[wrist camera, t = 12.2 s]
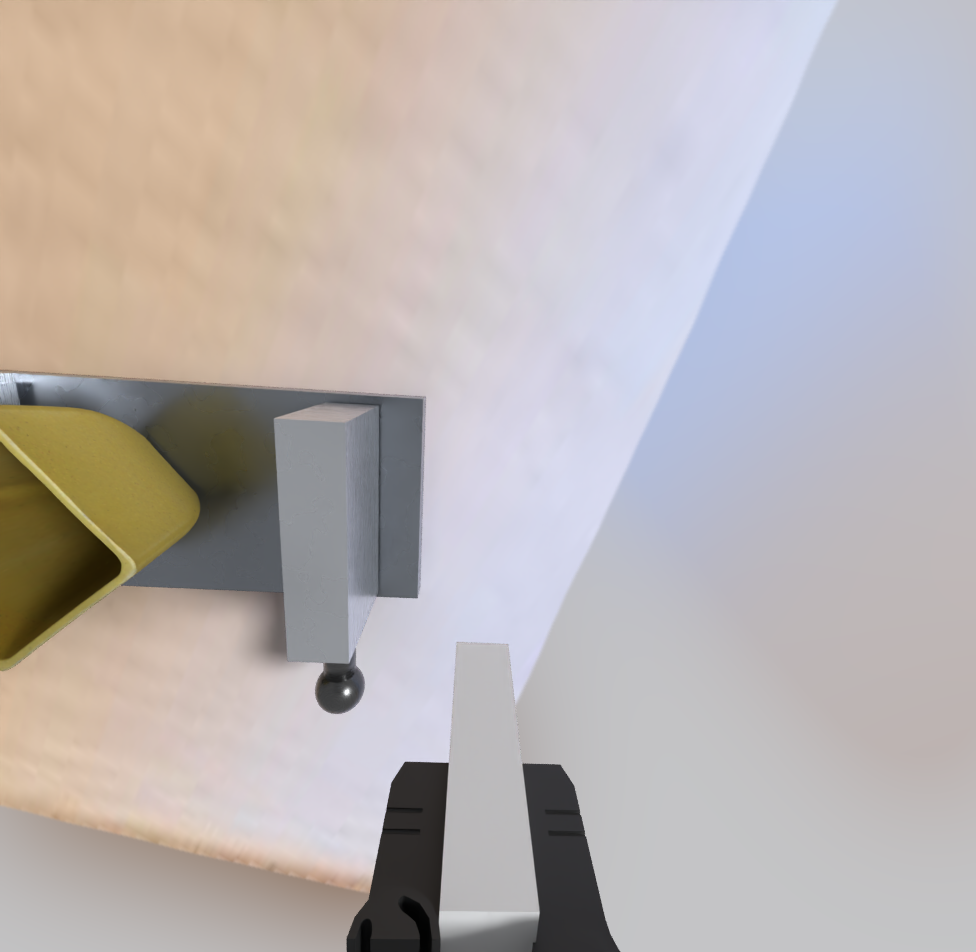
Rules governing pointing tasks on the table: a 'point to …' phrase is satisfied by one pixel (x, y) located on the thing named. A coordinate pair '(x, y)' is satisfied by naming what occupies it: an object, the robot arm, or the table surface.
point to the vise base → (244, 471)
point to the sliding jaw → (329, 539)
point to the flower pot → (77, 517)
